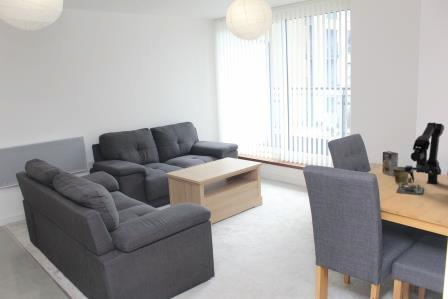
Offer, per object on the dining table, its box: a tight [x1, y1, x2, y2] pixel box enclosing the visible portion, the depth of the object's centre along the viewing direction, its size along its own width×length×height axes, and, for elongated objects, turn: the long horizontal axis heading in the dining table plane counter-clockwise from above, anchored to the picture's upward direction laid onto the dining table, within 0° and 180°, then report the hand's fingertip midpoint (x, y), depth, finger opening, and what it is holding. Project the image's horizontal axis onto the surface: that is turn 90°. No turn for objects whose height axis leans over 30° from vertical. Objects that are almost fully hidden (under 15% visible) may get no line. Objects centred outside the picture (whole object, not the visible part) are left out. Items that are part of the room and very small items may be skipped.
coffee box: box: [382, 150, 399, 176], centre depth 287 cm, size 9×6×16 cm
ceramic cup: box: [393, 166, 410, 185], centre depth 263 cm, size 13×10×10 cm
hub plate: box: [395, 183, 424, 196], centre depth 244 cm, size 14×14×3 cm
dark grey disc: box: [403, 177, 417, 189], centre depth 245 cm, size 9×7×5 cm
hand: (421, 182), depth 244 cm, fingers open, 8 cm apart
